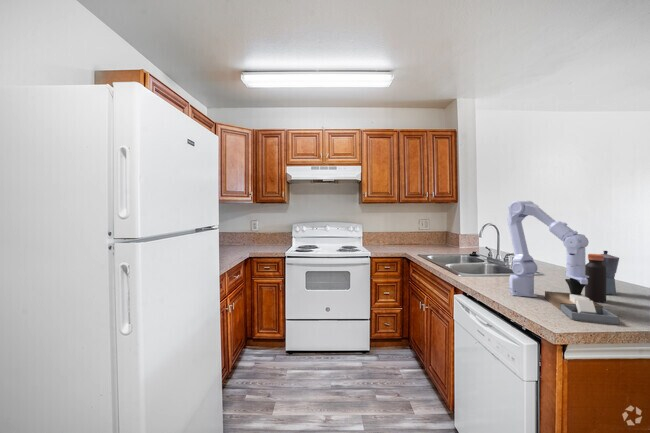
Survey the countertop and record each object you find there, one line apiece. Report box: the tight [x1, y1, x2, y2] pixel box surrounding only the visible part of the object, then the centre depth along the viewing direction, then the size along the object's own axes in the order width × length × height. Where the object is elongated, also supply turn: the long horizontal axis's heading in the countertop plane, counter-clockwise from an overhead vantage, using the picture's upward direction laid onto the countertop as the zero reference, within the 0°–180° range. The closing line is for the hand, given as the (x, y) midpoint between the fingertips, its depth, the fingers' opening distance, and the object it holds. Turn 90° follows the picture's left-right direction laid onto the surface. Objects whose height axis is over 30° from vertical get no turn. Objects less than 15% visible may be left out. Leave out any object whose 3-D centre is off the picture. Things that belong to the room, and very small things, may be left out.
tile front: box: [575, 300, 596, 314], centre depth 106 cm, size 4×4×2 cm
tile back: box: [570, 294, 589, 304], centre depth 111 cm, size 4×4×2 cm
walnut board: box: [544, 290, 604, 311], centre depth 117 cm, size 13×17×3 cm
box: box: [560, 304, 620, 326], centre depth 104 cm, size 13×10×3 cm
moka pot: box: [600, 250, 620, 296], centre depth 133 cm, size 10×15×20 cm, turn 107°
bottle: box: [584, 253, 607, 303], centre depth 123 cm, size 7×7×20 cm
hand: (575, 297), depth 114 cm, fingers closed
